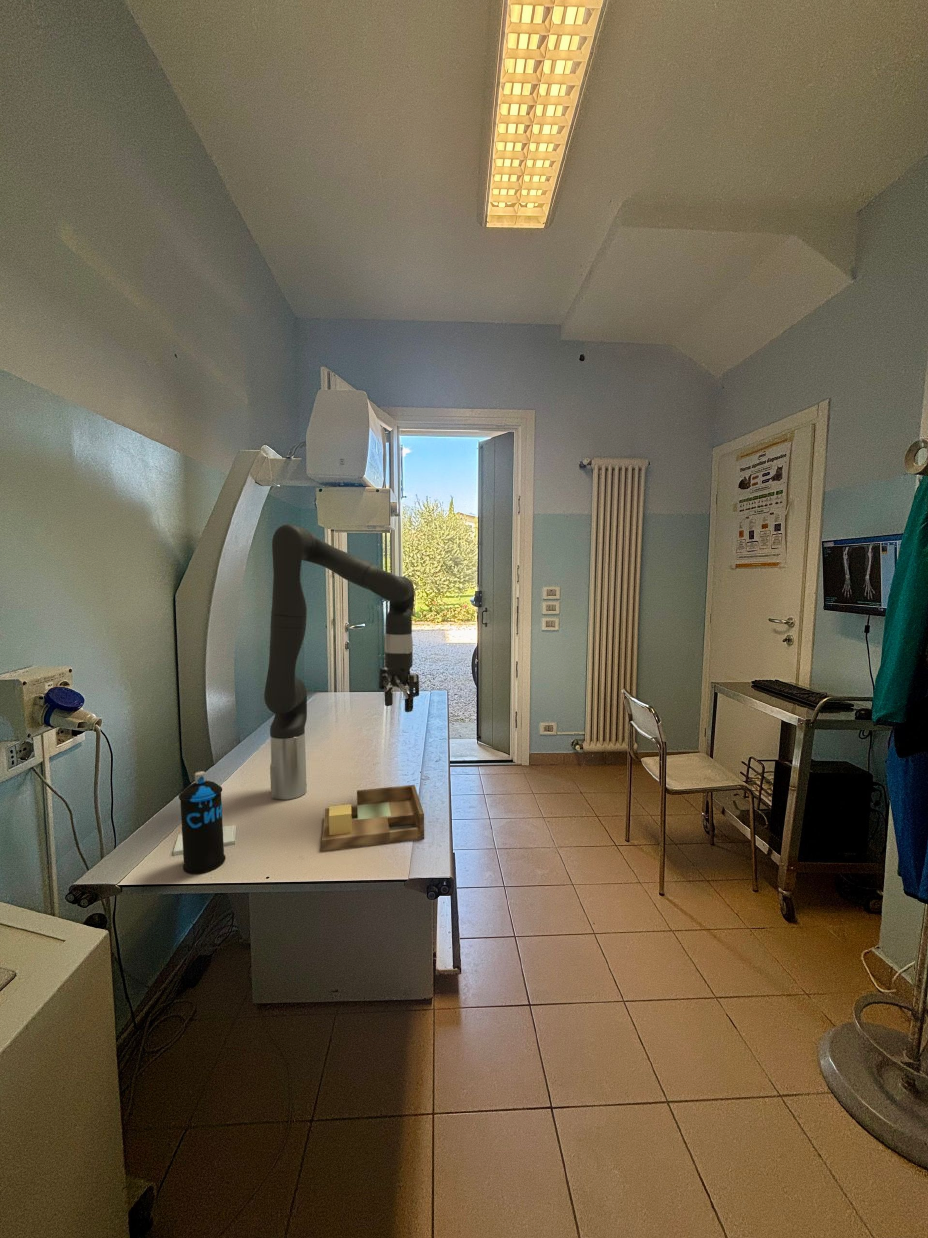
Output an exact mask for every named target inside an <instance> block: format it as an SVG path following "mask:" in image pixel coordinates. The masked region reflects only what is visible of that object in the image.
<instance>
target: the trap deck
mask: <svg viewBox="0 0 928 1238" xmlns="http://www.w3.org/2000/svg"><path fill="white" fill-rule="evenodd" d="M329 808H330V807H329ZM329 808H328V807H327V808H325V809H324V817H323V828H322V839H321V844H322V845H321V846H322V847H321V848H322V850H321V851H322V852H325V851H334V850H341V849H349V848H350V849H351V848H358V847H366V846H375V845H383V844H390V843H397V842H405V841H406V842H407V841H414V840H415V841H416V840H423V839H425V812H424V810H423V806H422V803H421V801H420V798H419V794H418V791H417V789H416V786H415V784H410V785H409V784H407V785H399V786H387V787H378V788H370V789H358V790H356V805H351V816H352V833H343V834H335V835H329Z"/></svg>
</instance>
